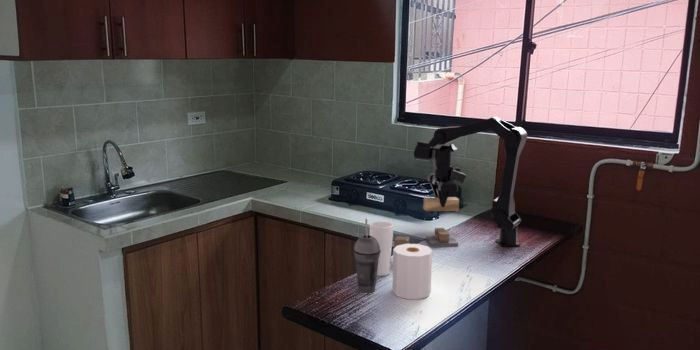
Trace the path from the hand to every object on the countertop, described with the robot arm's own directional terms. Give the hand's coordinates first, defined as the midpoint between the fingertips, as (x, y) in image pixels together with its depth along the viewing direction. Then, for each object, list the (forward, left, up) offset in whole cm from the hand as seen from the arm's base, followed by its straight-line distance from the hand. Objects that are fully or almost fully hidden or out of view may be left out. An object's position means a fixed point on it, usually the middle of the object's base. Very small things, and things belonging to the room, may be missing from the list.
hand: (441, 205), depth 207 cm
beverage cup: (-50, +35, -10) cm, 62 cm away
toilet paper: (-52, +23, -10) cm, 58 cm away
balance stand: (-12, +3, -10) cm, 16 cm away
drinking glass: (-38, +29, -10) cm, 49 cm away
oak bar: (0, 0, -2) cm, 2 cm away
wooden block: (-30, +21, -10) cm, 38 cm away
